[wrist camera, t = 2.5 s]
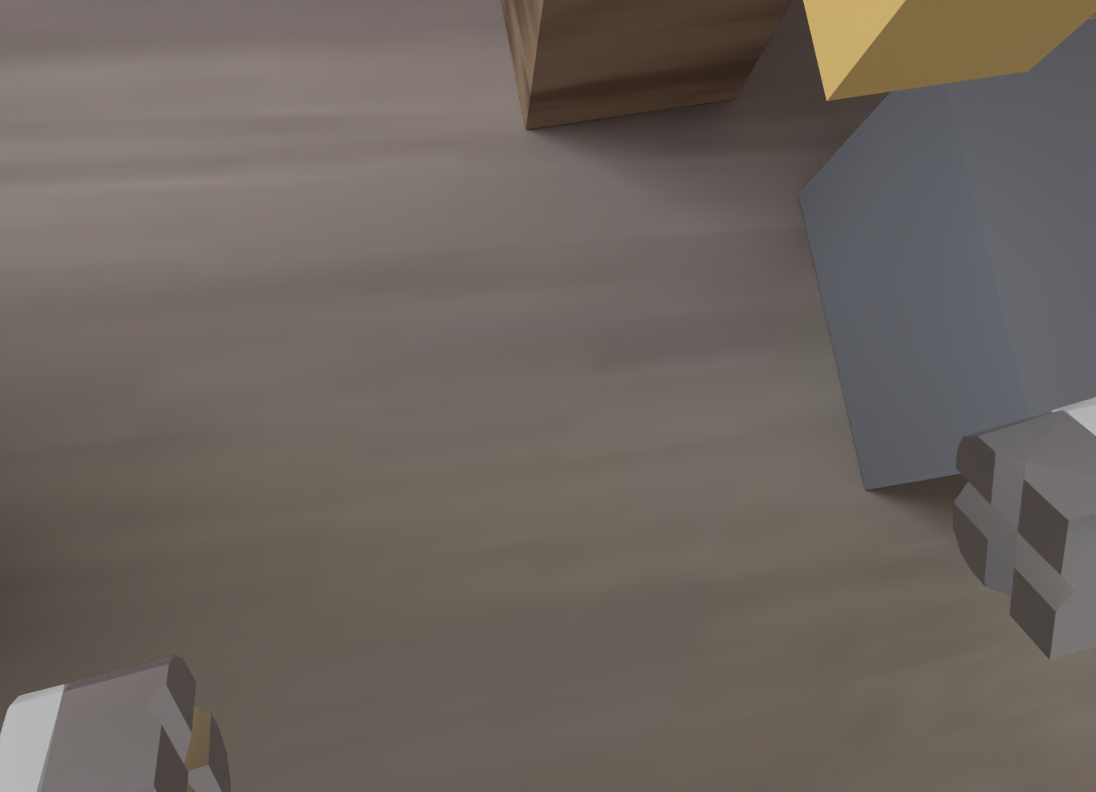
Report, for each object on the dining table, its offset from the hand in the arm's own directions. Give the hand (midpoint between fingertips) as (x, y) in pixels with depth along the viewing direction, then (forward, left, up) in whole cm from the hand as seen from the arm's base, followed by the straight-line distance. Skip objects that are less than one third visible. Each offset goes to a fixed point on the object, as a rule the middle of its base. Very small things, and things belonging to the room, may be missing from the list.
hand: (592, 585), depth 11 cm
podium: (+20, -12, -35) cm, 42 cm away
